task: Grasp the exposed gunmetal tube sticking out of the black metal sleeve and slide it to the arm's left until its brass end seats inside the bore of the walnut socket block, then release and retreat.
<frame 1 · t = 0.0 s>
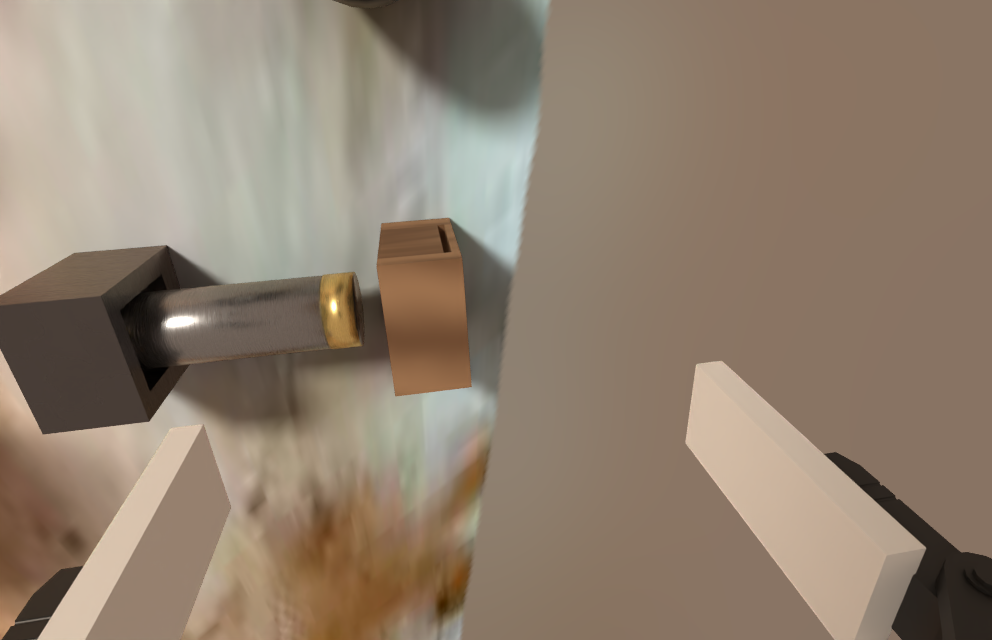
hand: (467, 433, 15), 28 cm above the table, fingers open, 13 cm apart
tube: (204, 324, 36), point 5 cm above the table, slide at 0.0 cm
sleeve: (140, 304, 39), on the table
socket: (421, 277, 42), on the table
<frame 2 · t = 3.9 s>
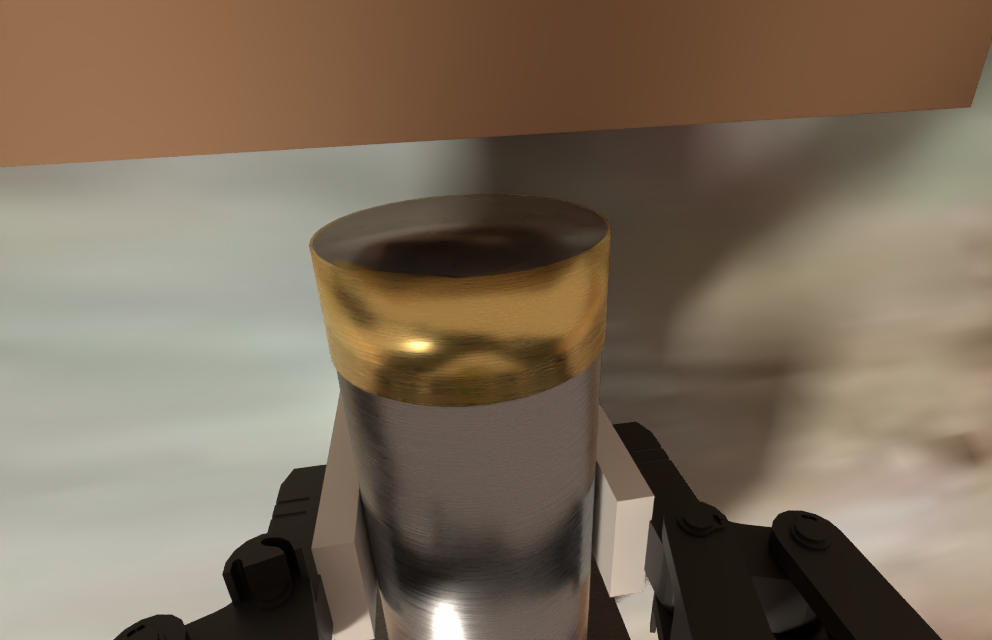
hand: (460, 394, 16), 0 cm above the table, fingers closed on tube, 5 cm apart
tube: (488, 610, 14), point 5 cm above the table, slide at 0.0 cm, touching gripper
sleeve: (476, 598, 21), on the table
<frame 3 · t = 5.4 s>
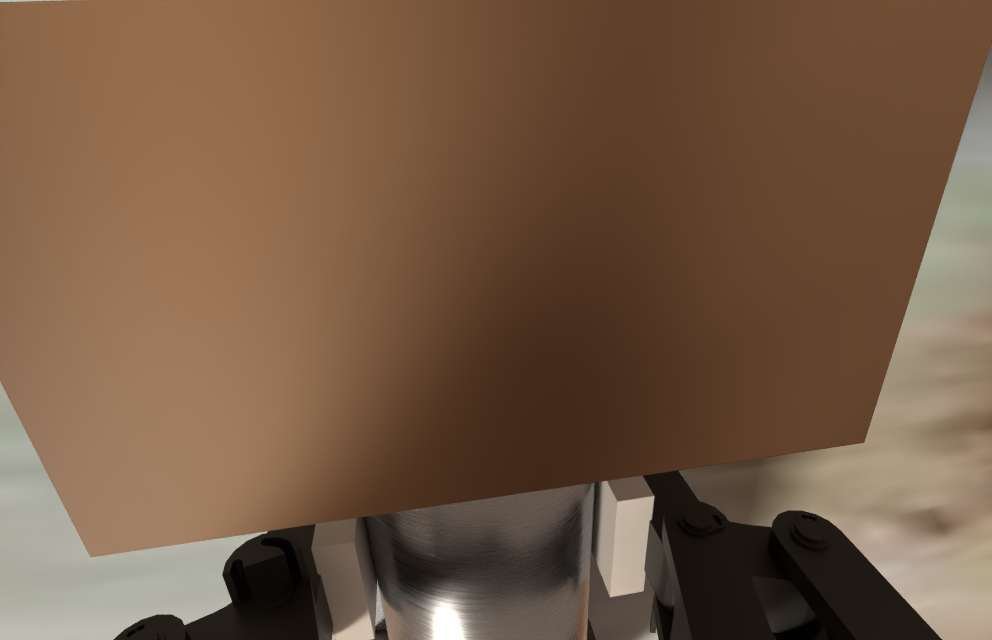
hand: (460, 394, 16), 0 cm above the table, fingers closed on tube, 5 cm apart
tube: (487, 610, 14), point 5 cm above the table, slide at 4.0 cm, touching gripper
socket: (439, 152, 14), on the table
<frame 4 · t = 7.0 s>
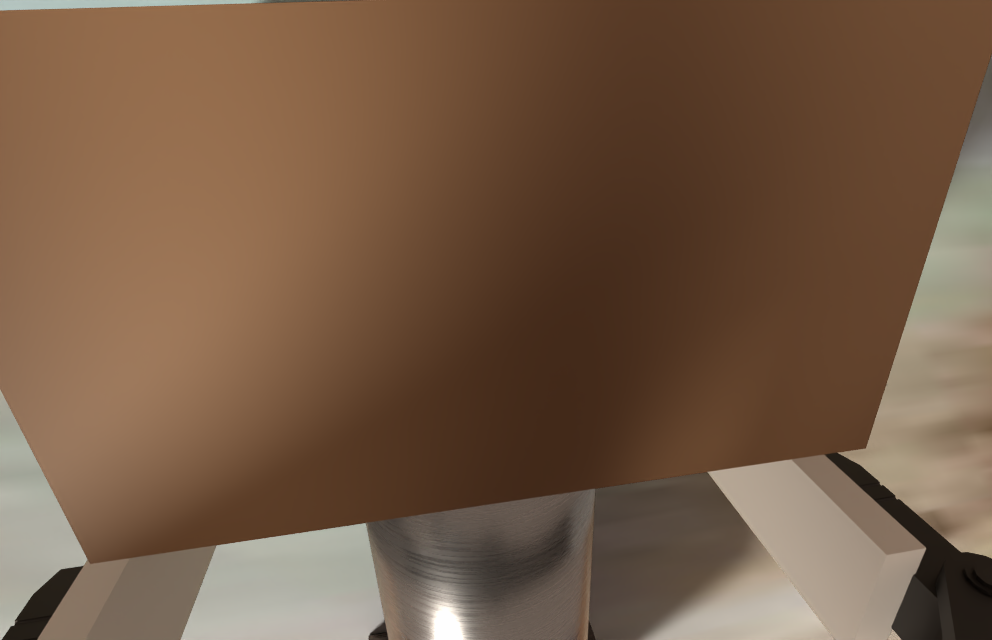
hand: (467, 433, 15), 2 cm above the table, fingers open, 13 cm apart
tube: (488, 613, 14), point 5 cm above the table, slide at 4.0 cm
socket: (440, 155, 14), on the table
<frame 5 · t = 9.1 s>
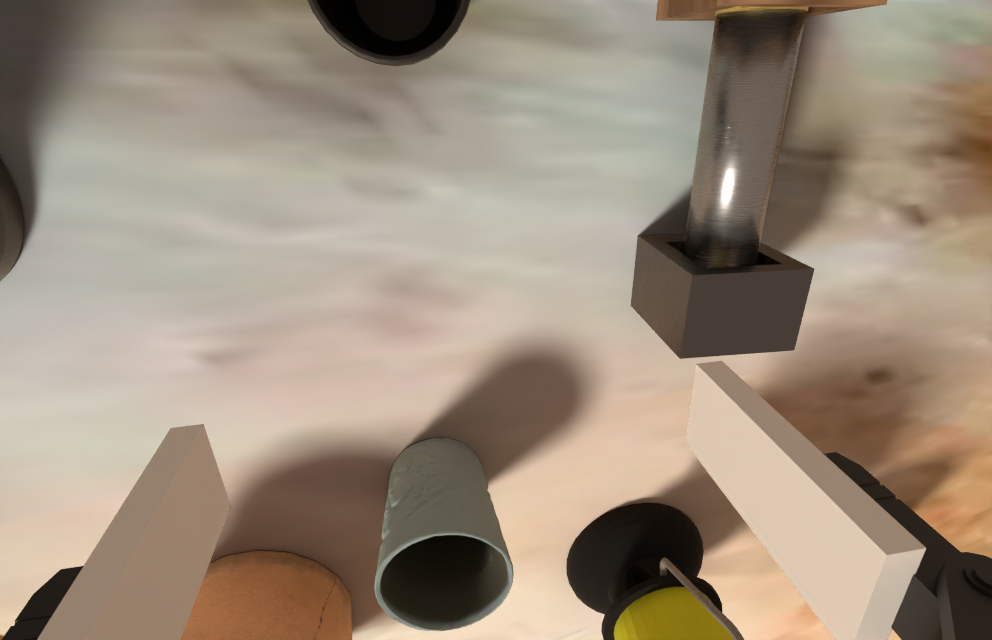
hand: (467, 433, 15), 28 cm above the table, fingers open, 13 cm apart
tube: (736, 151, 36), point 5 cm above the table, slide at 4.0 cm
lantern: (633, 552, 58), on the table
grey green textured cup: (439, 473, 50), on the table
sleeve: (683, 269, 45), on the table
pottery: (267, 608, 54), on the table
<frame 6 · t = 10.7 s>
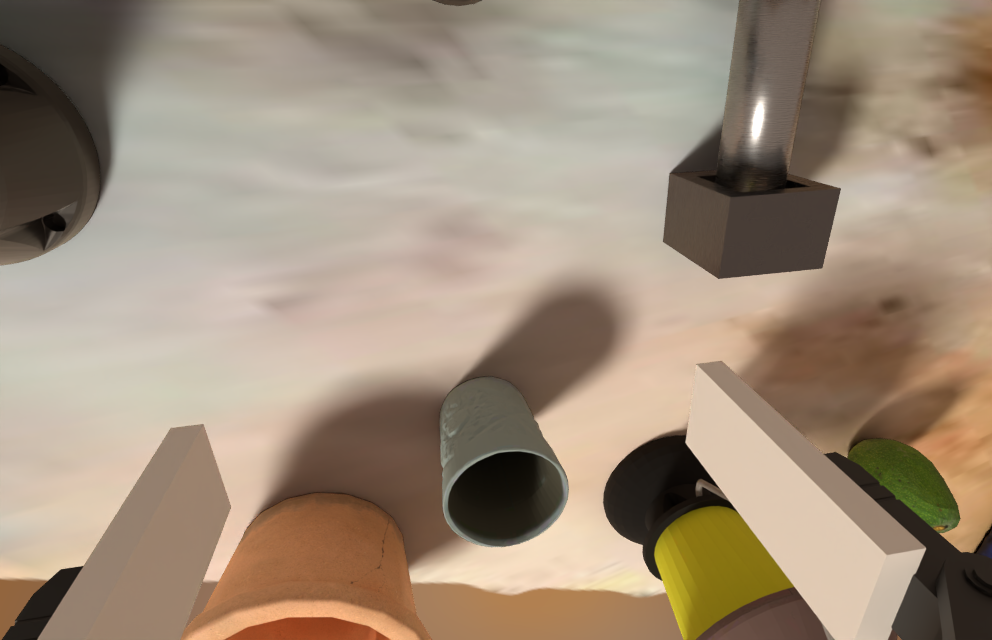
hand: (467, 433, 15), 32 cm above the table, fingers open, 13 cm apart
tube: (765, 82, 39), point 5 cm above the table, slide at 4.0 cm
lantern: (665, 484, 61), on the table
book: (991, 532, 75), on the table
grey green textured cup: (485, 412, 53), on the table
sleeve: (711, 204, 47), on the table
pottery: (324, 550, 57), on the table
fruit: (857, 449, 64), on the table
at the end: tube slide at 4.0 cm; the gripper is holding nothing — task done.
